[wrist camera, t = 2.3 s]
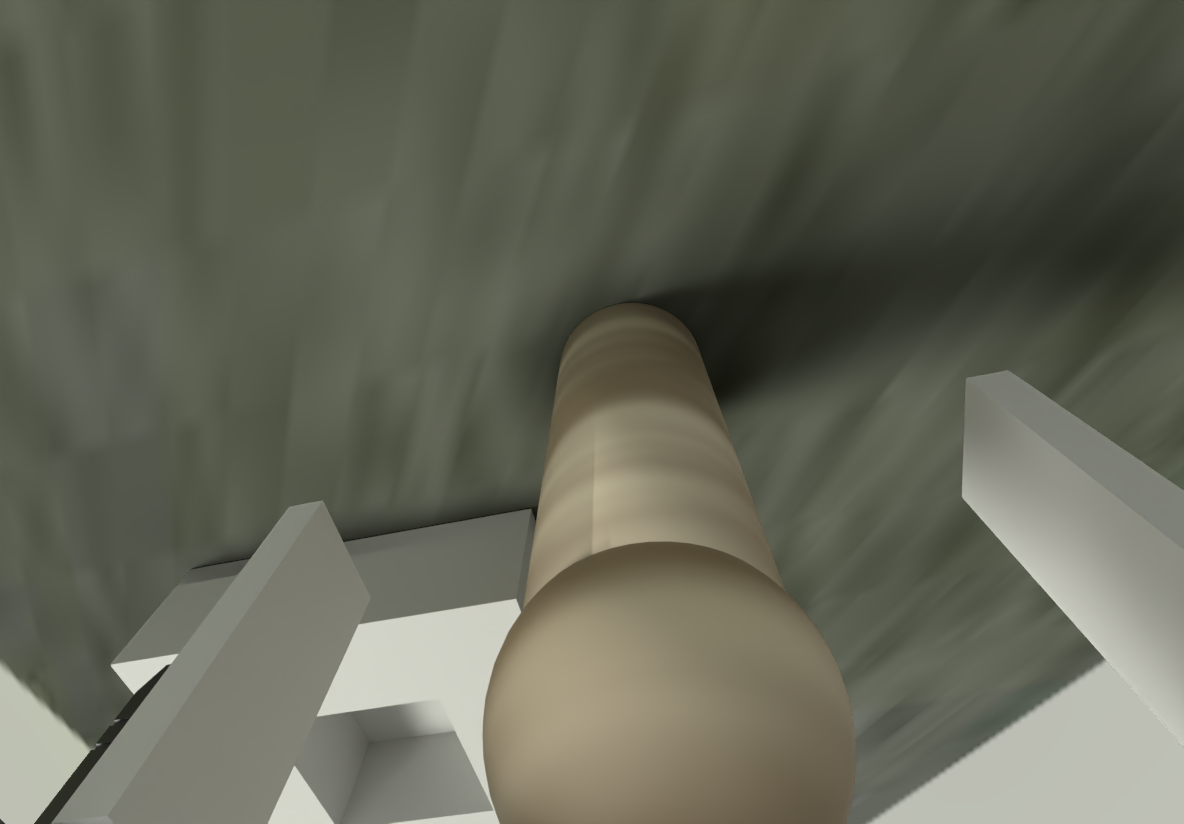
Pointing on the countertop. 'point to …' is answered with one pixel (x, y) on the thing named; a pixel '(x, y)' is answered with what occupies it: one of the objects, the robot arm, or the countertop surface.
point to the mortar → (389, 673)
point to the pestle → (657, 616)
